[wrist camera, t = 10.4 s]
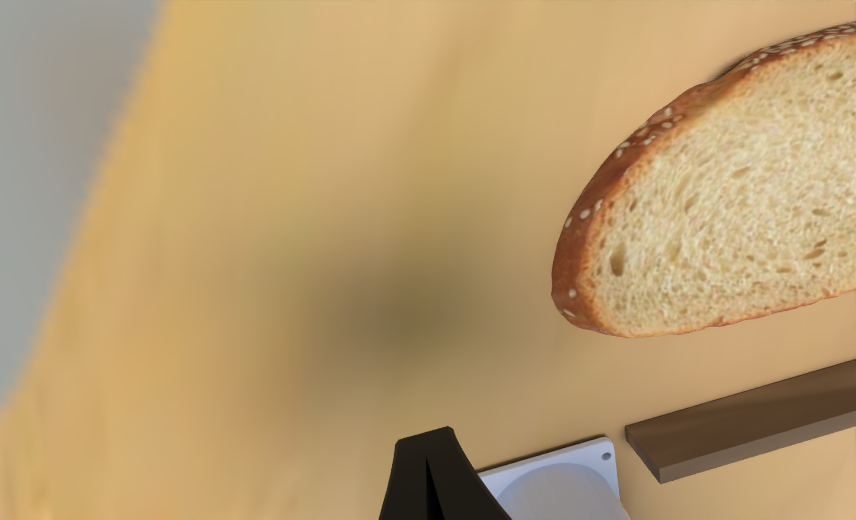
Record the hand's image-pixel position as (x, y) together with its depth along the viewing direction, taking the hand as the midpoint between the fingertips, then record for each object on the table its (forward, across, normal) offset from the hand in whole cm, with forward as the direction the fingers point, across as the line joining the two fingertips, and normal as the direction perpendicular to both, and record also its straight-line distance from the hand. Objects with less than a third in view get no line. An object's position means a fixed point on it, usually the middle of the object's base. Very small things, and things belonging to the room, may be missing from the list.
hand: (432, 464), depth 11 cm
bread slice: (+10, -18, 0) cm, 21 cm away
